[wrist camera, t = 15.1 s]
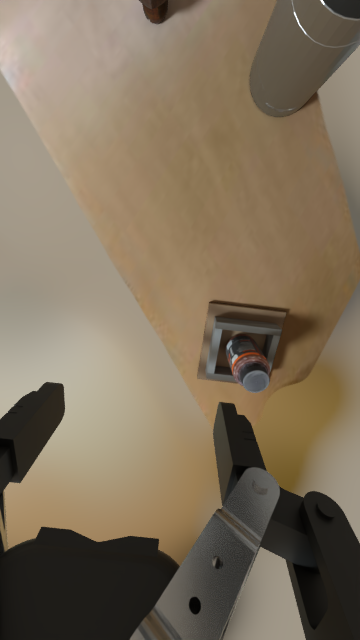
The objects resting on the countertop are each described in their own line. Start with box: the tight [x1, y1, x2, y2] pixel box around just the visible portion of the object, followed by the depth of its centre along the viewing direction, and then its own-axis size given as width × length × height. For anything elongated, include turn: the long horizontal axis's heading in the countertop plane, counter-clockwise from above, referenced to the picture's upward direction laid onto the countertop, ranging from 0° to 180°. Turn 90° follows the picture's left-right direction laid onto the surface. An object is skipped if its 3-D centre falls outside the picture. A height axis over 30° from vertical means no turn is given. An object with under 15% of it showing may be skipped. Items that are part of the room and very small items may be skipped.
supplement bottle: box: [226, 334, 270, 393], centre depth 41 cm, size 6×6×11 cm
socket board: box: [197, 302, 286, 384], centre depth 46 cm, size 16×14×4 cm
